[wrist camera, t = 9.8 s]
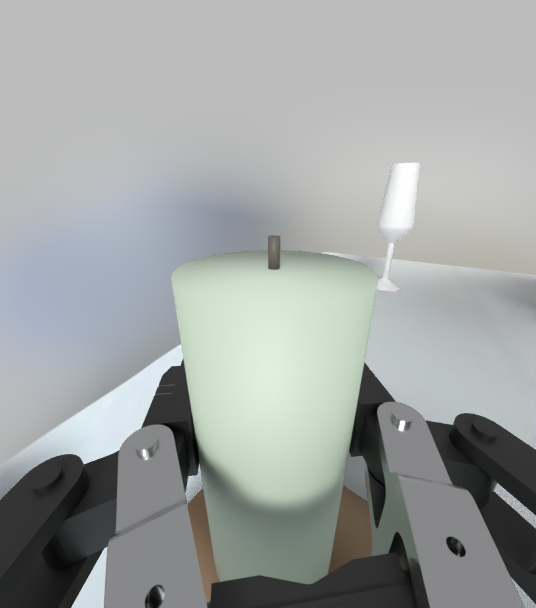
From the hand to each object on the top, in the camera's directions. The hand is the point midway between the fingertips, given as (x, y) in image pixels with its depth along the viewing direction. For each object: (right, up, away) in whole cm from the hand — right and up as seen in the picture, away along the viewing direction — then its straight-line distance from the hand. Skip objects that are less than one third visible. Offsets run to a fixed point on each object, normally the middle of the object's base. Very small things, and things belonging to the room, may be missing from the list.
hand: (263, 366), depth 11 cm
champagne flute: (+26, +6, +46) cm, 53 cm away
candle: (0, -7, 0) cm, 7 cm away
